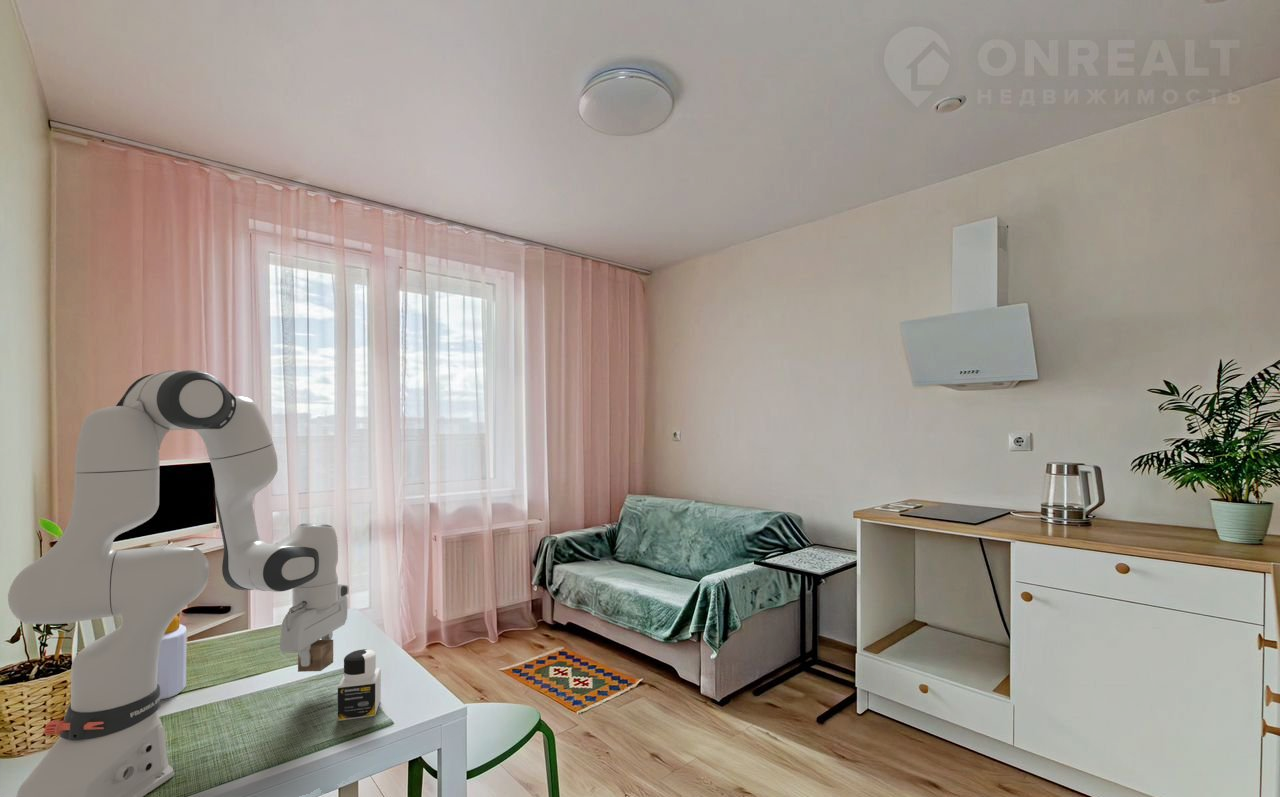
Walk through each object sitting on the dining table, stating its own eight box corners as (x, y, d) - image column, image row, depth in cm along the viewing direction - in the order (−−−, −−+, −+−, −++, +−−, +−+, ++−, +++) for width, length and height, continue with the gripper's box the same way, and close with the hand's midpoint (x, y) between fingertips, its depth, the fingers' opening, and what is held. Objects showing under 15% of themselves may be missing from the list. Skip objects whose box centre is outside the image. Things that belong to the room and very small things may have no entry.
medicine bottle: (337, 721, 119) (337, 662, 119) (344, 704, 125) (345, 648, 126) (375, 716, 120) (375, 657, 121) (380, 700, 127) (380, 644, 128)
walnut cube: (320, 671, 127) (320, 647, 127) (297, 671, 127) (298, 648, 128) (333, 662, 132) (333, 639, 132) (311, 662, 132) (311, 640, 133)
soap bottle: (191, 692, 132) (192, 601, 132) (143, 705, 126) (144, 610, 126) (180, 674, 141) (181, 589, 141) (135, 686, 135) (136, 597, 135)
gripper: (301, 609, 120) (301, 678, 119) (352, 584, 141) (352, 643, 140) (271, 609, 120) (270, 679, 119) (326, 585, 141) (326, 644, 140)
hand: (315, 659), depth 130 cm, fingers closed on walnut cube, 5 cm apart
